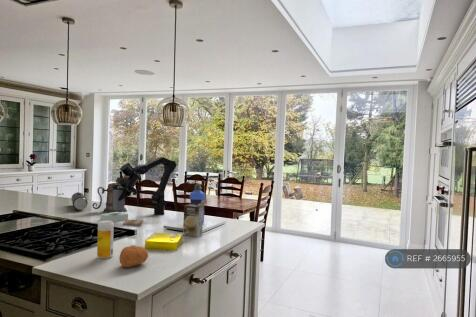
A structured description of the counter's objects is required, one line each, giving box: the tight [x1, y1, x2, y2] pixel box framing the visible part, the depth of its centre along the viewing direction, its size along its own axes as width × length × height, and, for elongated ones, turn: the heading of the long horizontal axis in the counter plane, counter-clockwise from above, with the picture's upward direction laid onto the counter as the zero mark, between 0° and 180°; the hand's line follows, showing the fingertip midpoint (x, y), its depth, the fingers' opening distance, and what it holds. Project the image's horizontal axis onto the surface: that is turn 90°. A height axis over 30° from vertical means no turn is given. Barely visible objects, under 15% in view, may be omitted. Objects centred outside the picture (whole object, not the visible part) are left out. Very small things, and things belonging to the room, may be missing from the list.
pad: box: [122, 219, 144, 227], centre depth 196 cm, size 10×10×2 cm
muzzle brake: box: [71, 192, 88, 211], centre depth 241 cm, size 10×28×10 cm, turn 30°
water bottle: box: [189, 183, 206, 224], centre depth 203 cm, size 9×9×25 cm
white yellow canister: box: [96, 220, 115, 260], centre depth 136 cm, size 6×6×15 cm
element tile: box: [144, 232, 183, 252], centre depth 155 cm, size 15×15×5 cm
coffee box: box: [182, 203, 204, 238], centre depth 176 cm, size 9×6×16 cm
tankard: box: [92, 182, 128, 214], centre depth 232 cm, size 24×17×20 cm
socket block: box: [99, 212, 129, 223], centre depth 204 cm, size 12×11×4 cm
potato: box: [118, 244, 149, 268], centre depth 128 cm, size 9×11×8 cm
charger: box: [113, 190, 125, 210], centre depth 202 cm, size 5×4×12 cm
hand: (116, 200), depth 201 cm, fingers closed on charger, 4 cm apart
